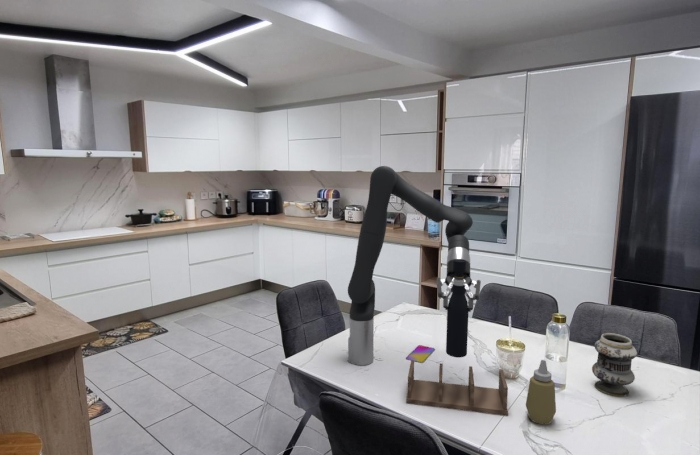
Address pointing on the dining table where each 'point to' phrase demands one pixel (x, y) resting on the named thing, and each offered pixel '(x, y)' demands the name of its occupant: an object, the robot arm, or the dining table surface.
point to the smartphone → (420, 354)
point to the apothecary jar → (614, 364)
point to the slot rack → (458, 394)
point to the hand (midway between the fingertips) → (458, 309)
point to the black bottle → (457, 314)
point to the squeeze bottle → (541, 396)
